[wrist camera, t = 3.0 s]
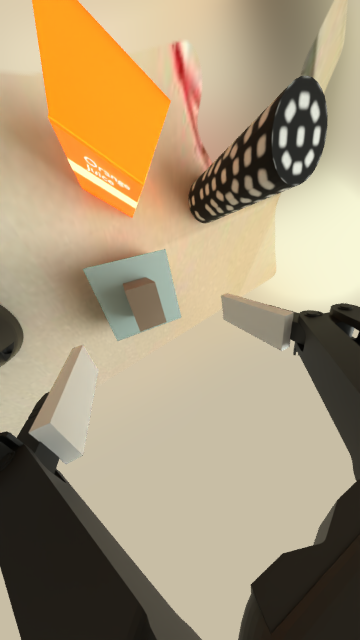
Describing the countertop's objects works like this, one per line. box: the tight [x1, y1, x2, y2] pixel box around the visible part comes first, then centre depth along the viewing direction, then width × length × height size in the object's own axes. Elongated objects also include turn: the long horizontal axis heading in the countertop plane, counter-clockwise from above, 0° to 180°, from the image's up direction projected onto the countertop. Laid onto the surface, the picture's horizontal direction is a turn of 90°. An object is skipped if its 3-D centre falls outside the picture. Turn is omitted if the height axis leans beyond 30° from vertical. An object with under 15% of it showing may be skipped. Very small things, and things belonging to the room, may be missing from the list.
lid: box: [83, 249, 181, 341], centre depth 24 cm, size 13×13×8 cm
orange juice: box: [32, 0, 171, 217], centre depth 18 cm, size 8×9×20 cm
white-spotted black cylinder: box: [189, 76, 327, 223], centre depth 25 cm, size 8×8×20 cm
